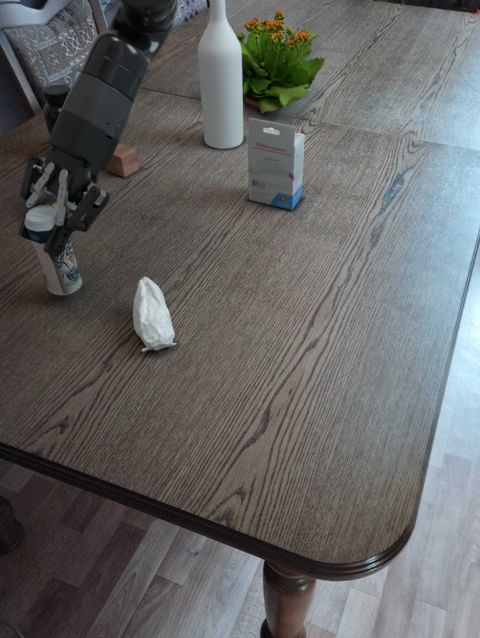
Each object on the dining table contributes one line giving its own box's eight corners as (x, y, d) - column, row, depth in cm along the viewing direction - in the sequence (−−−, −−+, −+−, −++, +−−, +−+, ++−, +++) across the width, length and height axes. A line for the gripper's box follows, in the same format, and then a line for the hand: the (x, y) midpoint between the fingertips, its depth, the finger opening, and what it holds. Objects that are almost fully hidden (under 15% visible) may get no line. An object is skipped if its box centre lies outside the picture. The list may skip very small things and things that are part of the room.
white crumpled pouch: (127, 322, 77) (141, 356, 69) (125, 276, 74) (140, 308, 66) (161, 318, 79) (179, 352, 71) (161, 274, 76) (180, 304, 68)
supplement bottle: (47, 155, 108) (29, 93, 99) (66, 140, 112) (50, 79, 104) (77, 161, 106) (62, 98, 98) (96, 146, 111) (82, 84, 102)
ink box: (302, 197, 98) (308, 114, 87) (292, 211, 95) (296, 127, 84) (259, 186, 100) (259, 105, 90) (247, 200, 97) (246, 117, 87)
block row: (40, 211, 94) (33, 190, 91) (124, 163, 106) (120, 143, 103) (56, 218, 93) (50, 197, 90) (139, 169, 105) (136, 149, 102)
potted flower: (193, 111, 122) (186, 24, 110) (229, 74, 138) (226, -7, 125) (302, 127, 117) (308, 37, 105) (326, 86, 133) (334, 3, 120)
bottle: (232, 152, 109) (226, -26, 88) (197, 144, 112) (182, -32, 90) (250, 135, 114) (248, -37, 93) (215, 128, 117) (206, -42, 95)
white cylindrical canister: (75, 299, 76) (52, 226, 67) (42, 295, 76) (15, 222, 68) (88, 277, 79) (67, 205, 71) (56, 274, 80) (32, 201, 71)
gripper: (33, 92, 68) (-20, 217, 71) (109, 125, 62) (49, 261, 65) (77, 120, 75) (28, 233, 77) (150, 152, 69) (94, 274, 71)
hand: (38, 245), depth 71 cm, fingers closed on white cylindrical canister, 4 cm apart
